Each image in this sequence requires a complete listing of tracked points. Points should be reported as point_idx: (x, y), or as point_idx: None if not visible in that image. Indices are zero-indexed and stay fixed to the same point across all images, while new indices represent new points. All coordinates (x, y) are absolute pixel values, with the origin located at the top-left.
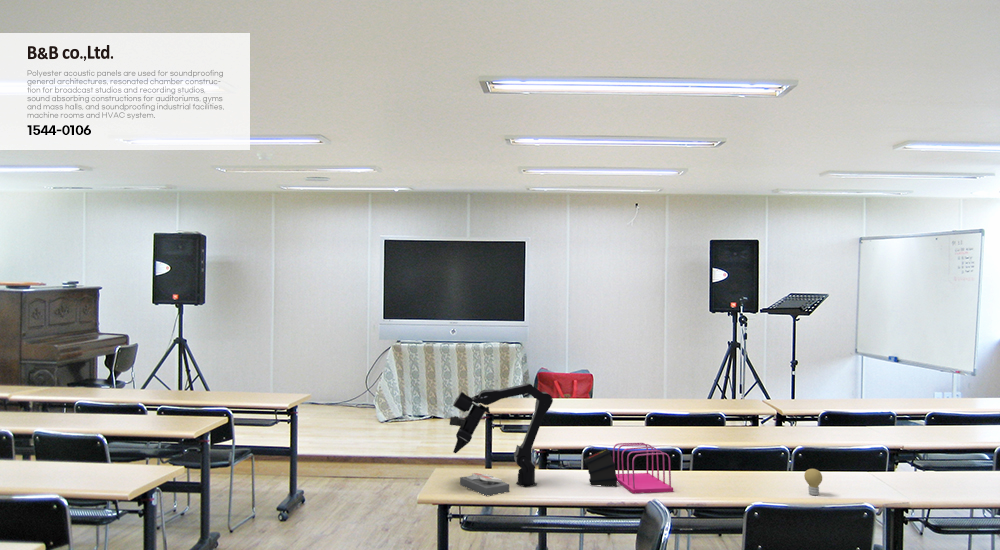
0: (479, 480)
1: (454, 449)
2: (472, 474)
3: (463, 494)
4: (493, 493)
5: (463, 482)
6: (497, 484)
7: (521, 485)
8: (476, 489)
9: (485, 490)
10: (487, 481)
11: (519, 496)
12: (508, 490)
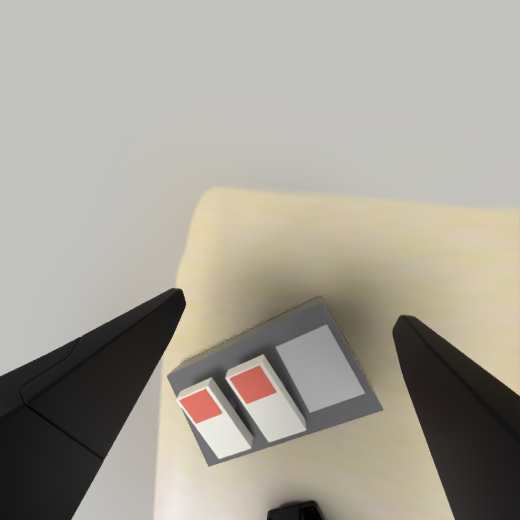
0: None
1: (146, 303)
2: (260, 358)
3: (204, 297)
4: None
5: (297, 310)
6: None
7: (284, 508)
8: (222, 344)
9: (174, 369)
10: None
11: (175, 454)
12: None
